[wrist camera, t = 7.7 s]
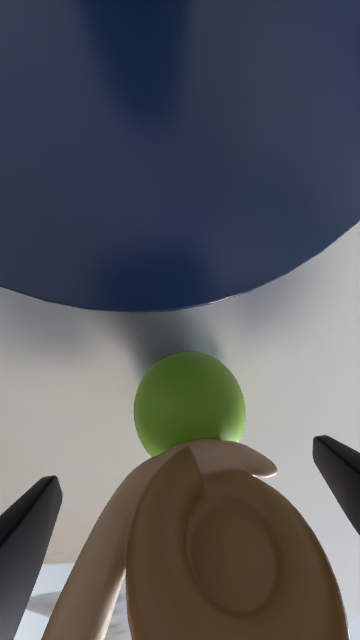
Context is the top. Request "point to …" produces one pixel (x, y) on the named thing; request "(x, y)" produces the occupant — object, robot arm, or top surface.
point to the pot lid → (173, 146)
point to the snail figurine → (199, 530)
